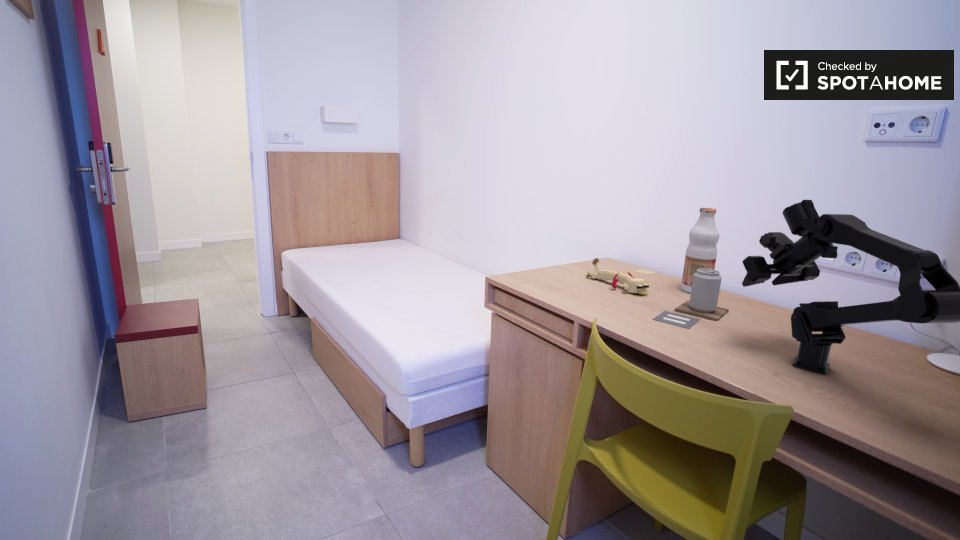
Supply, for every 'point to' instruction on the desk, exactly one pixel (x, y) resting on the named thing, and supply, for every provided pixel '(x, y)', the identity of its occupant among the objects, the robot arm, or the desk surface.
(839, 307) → the robot arm
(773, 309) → the desk surface
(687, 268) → the fruit juice
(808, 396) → the desk surface
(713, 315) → the board
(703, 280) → the can
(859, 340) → the desk surface
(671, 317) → the tile
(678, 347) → the desk surface
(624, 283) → the cream voxel animal
